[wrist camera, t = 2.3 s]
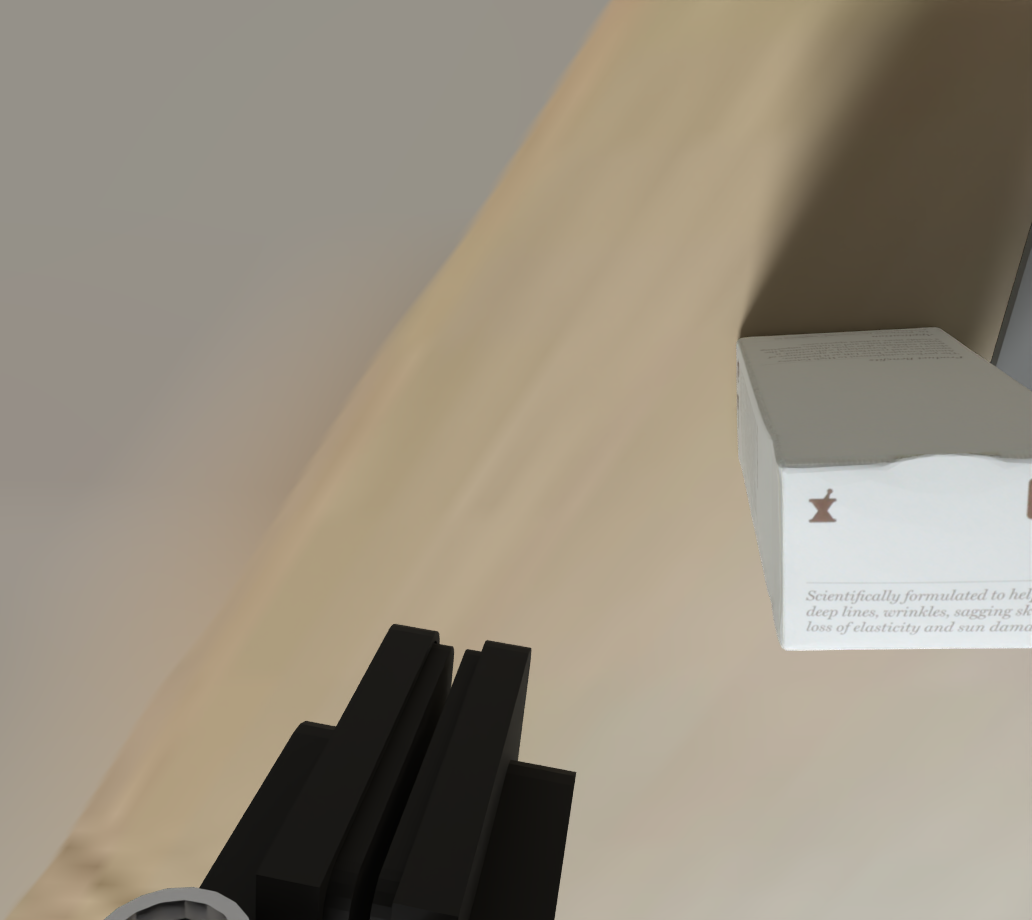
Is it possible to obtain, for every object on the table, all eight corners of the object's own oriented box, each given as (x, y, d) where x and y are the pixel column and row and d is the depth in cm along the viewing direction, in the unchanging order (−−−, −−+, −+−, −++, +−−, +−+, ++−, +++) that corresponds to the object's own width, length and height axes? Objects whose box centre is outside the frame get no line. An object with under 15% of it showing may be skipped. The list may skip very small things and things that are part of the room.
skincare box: (737, 464, 30) (765, 671, 19) (733, 326, 29) (762, 462, 18) (943, 457, 29) (1103, 673, 18) (950, 312, 28) (1129, 449, 16)
